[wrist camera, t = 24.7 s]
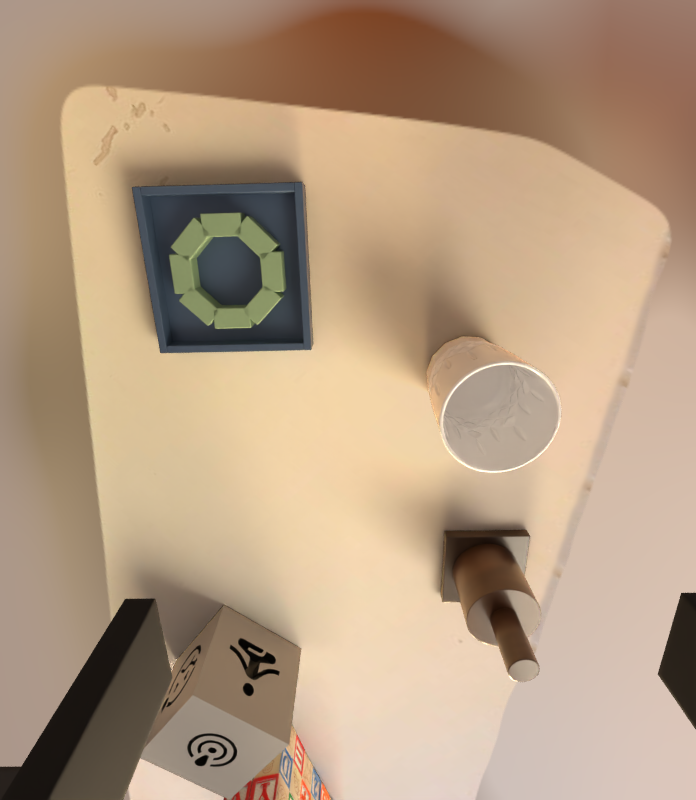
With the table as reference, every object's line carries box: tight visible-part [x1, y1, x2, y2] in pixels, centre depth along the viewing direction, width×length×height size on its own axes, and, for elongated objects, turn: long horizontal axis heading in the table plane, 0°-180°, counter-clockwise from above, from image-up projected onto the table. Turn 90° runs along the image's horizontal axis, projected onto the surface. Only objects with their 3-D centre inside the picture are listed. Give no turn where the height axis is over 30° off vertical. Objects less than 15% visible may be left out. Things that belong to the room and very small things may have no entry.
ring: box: [169, 213, 286, 329], centre depth 35 cm, size 8×8×2 cm
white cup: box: [426, 336, 561, 472], centre depth 34 cm, size 8×8×10 cm
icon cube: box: [140, 605, 301, 800], centre depth 46 cm, size 10×10×10 cm
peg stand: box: [441, 530, 541, 682], centre depth 40 cm, size 8×8×12 cm
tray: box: [132, 182, 313, 353], centre depth 35 cm, size 12×12×2 cm
